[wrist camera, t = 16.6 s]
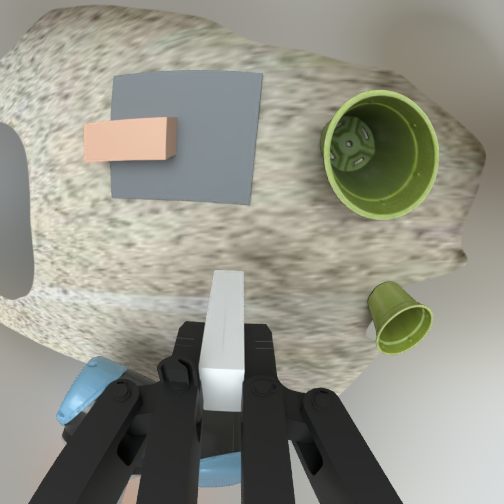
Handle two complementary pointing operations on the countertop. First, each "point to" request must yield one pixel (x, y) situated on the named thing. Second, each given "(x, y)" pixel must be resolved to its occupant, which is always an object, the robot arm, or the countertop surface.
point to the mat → (191, 134)
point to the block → (130, 139)
